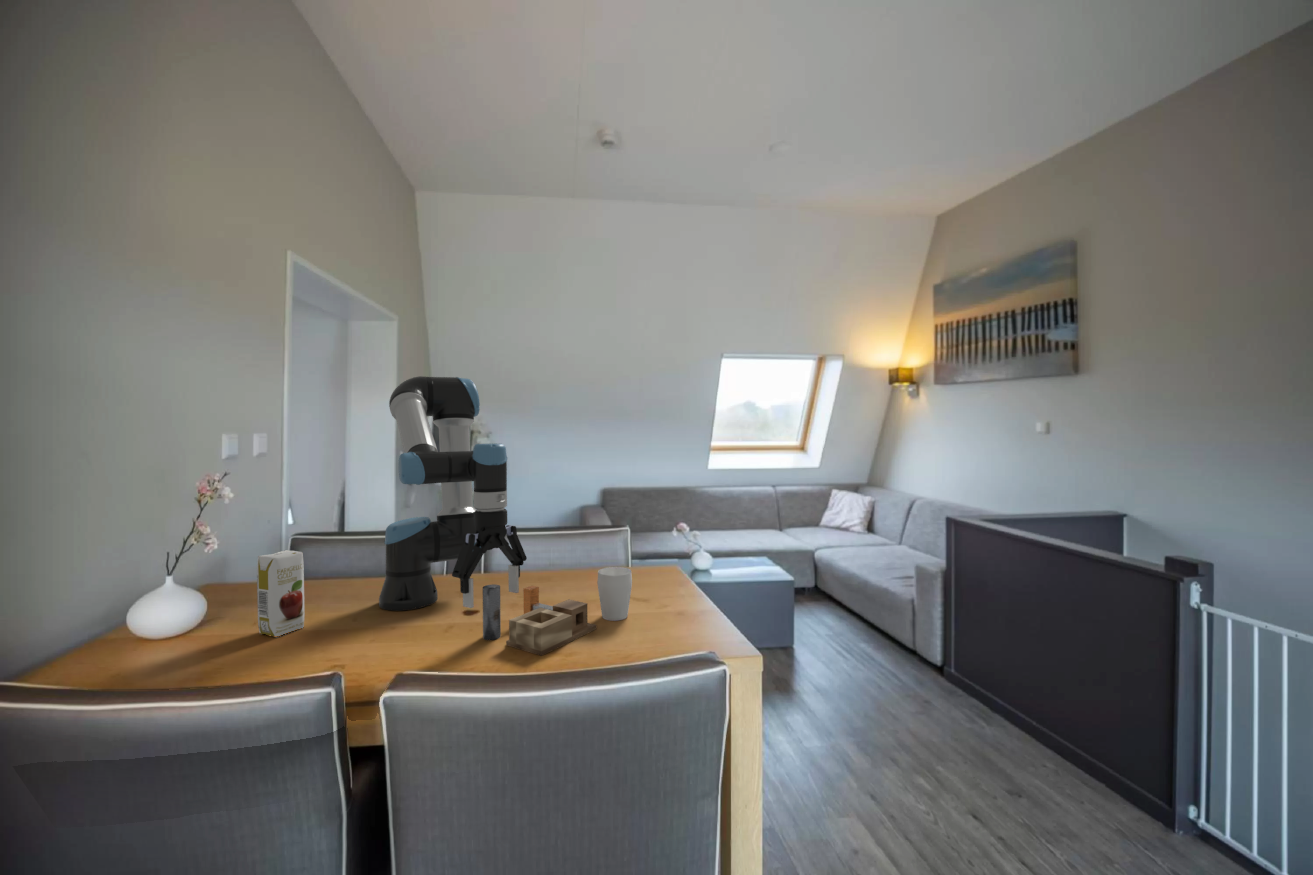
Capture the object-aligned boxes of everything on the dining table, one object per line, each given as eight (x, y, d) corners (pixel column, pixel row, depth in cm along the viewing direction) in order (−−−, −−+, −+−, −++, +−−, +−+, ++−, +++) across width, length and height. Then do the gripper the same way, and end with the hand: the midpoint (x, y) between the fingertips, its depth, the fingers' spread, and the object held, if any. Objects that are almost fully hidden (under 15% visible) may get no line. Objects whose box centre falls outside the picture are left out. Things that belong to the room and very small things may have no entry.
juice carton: (253, 635, 136) (251, 556, 135) (288, 623, 144) (286, 548, 143) (275, 639, 133) (273, 559, 132) (309, 627, 141) (308, 551, 140)
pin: (523, 619, 145) (523, 588, 145) (532, 616, 147) (532, 585, 147) (566, 631, 137) (566, 597, 137) (574, 627, 140) (574, 594, 139)
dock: (506, 644, 130) (505, 616, 129) (562, 620, 146) (562, 595, 145) (541, 655, 124) (541, 626, 123) (596, 628, 140) (596, 602, 139)
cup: (627, 623, 143) (627, 576, 143) (593, 621, 145) (592, 574, 145) (635, 612, 152) (635, 567, 152) (603, 609, 154) (603, 565, 153)
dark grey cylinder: (479, 638, 134) (478, 587, 133) (492, 632, 137) (492, 583, 137) (491, 641, 132) (490, 590, 131) (504, 636, 135) (503, 586, 135)
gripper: (456, 517, 121) (458, 616, 121) (540, 503, 142) (541, 588, 142) (434, 514, 125) (435, 610, 125) (518, 502, 146) (520, 584, 146)
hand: (491, 599), depth 134 cm, fingers open, 13 cm apart
